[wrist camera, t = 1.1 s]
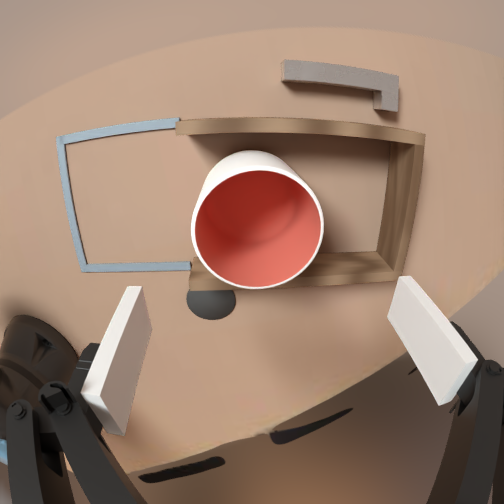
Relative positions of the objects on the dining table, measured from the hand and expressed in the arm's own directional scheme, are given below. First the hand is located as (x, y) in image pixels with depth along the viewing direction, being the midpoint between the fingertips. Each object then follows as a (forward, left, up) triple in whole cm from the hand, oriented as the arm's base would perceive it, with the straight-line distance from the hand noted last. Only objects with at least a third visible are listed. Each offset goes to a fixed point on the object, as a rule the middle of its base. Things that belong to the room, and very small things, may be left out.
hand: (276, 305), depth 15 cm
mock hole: (-5, -13, -19) cm, 23 cm away
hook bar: (+9, +12, -19) cm, 24 cm away
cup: (0, 0, -19) cm, 19 cm away
